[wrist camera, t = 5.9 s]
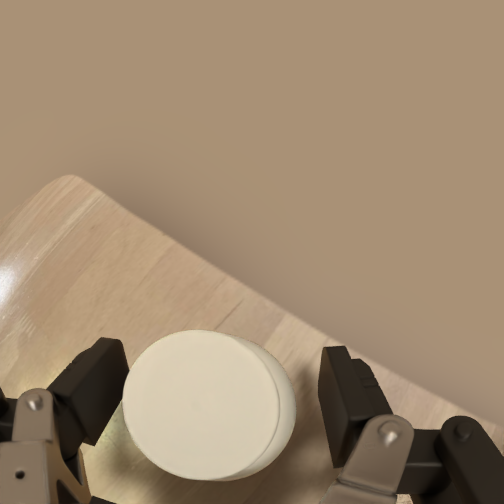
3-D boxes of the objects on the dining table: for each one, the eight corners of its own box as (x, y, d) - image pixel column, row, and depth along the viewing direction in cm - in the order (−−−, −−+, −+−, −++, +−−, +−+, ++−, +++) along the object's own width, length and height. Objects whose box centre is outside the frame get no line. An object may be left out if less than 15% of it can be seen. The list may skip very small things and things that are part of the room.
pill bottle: (173, 434, 14) (74, 446, 5) (204, 352, 16) (143, 278, 8) (266, 466, 13) (270, 531, 4) (294, 379, 15) (334, 336, 7)
